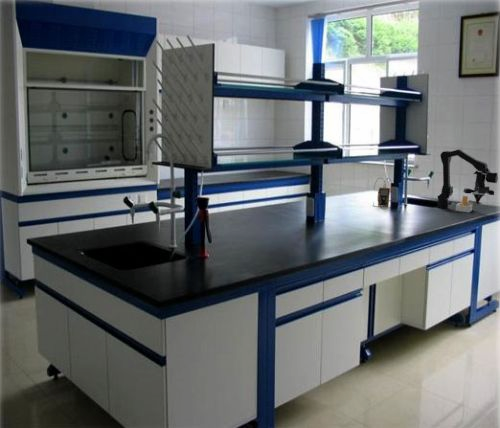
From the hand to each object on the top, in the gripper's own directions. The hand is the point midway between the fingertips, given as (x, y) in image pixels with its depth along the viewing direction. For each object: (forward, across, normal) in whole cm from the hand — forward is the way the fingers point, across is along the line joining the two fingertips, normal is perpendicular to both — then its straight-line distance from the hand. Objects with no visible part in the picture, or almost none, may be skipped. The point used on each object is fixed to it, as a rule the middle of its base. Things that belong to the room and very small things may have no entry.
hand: (477, 204), depth 379 cm
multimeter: (+7, -62, +4) cm, 62 cm away
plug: (+5, -7, +5) cm, 10 cm away
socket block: (+6, -7, +5) cm, 10 cm away
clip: (+1, 0, +4) cm, 4 cm away
